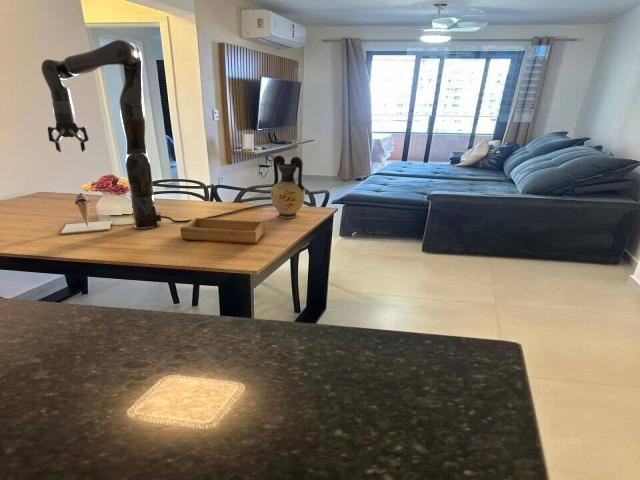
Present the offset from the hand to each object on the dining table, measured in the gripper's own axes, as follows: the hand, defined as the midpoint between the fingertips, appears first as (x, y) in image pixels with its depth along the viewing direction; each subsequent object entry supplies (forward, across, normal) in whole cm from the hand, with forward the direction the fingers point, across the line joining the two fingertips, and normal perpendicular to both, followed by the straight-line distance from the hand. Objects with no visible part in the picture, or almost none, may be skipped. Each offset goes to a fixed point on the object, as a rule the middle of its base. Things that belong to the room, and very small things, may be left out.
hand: (71, 151), depth 165 cm
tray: (+32, +56, -43) cm, 78 cm away
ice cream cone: (+32, +2, -9) cm, 33 cm away
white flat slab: (+32, +2, -9) cm, 33 cm away
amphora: (+32, +92, -20) cm, 100 cm away
